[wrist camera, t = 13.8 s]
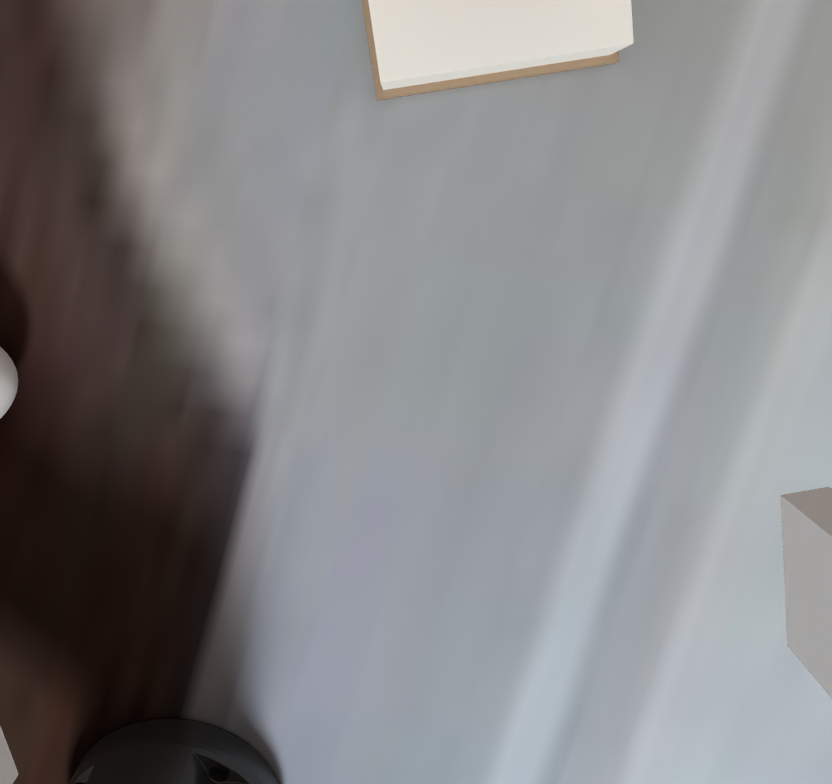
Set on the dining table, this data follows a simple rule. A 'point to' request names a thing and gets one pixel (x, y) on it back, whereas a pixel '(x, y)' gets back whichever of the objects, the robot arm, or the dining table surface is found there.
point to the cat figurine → (7, 382)
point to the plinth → (488, 40)
